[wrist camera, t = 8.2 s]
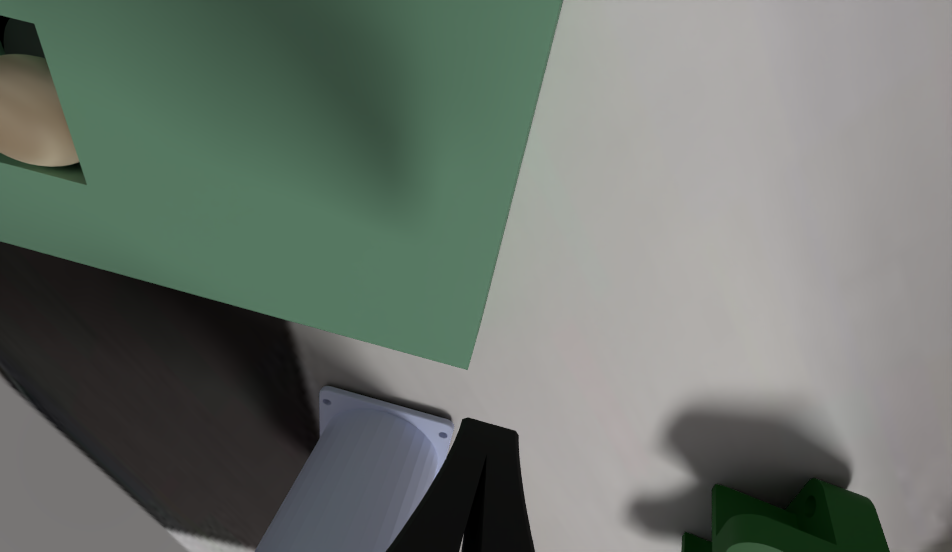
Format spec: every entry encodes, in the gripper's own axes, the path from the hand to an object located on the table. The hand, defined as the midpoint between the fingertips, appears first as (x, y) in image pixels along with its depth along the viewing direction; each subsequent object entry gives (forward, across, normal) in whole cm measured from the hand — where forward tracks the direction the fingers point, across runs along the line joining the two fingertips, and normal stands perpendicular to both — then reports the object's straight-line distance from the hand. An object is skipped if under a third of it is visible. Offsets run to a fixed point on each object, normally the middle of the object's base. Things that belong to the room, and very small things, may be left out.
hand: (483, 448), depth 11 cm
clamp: (+10, -16, +13) cm, 23 cm away
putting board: (+9, +13, -3) cm, 16 cm away
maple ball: (+7, +19, -2) cm, 21 cm away
